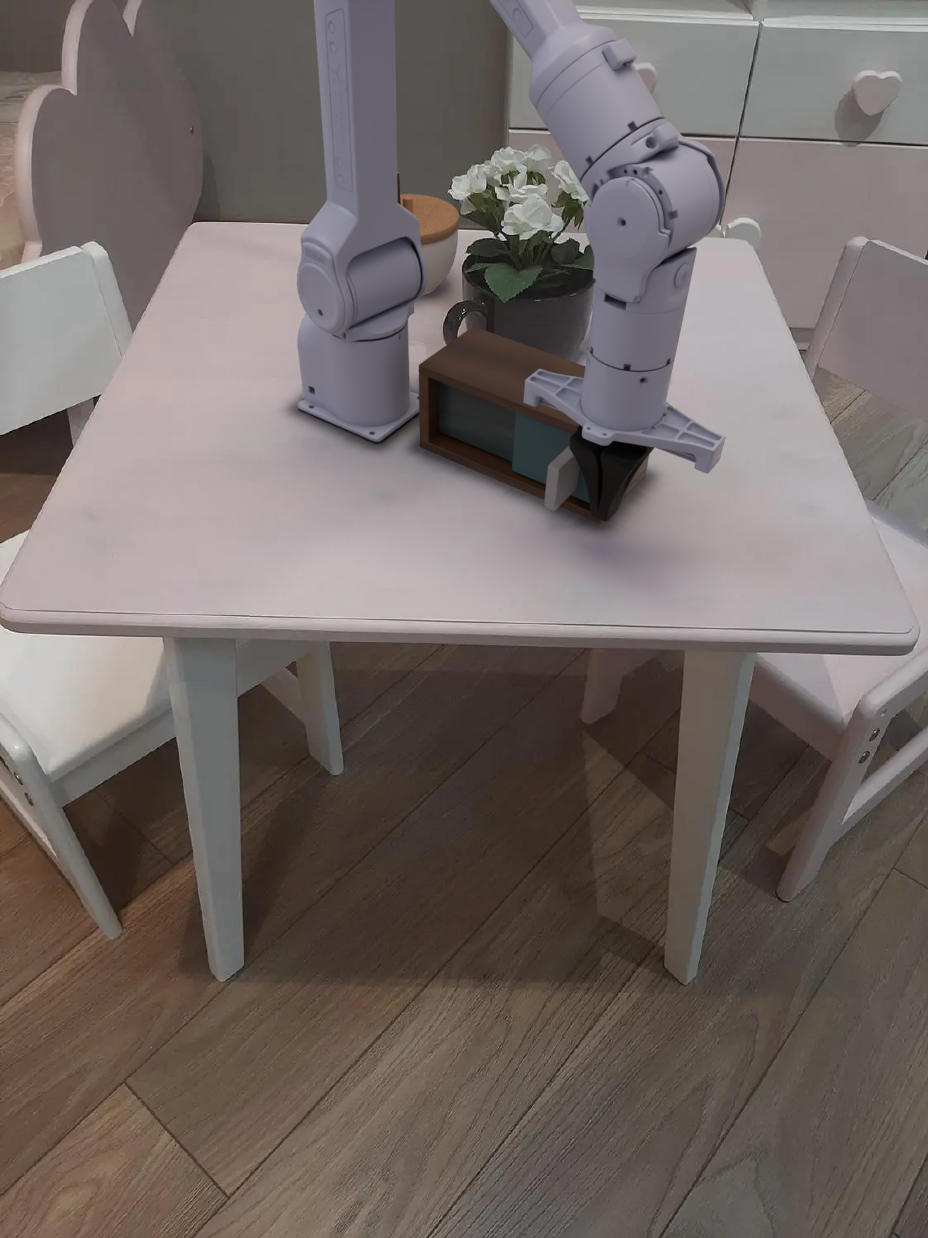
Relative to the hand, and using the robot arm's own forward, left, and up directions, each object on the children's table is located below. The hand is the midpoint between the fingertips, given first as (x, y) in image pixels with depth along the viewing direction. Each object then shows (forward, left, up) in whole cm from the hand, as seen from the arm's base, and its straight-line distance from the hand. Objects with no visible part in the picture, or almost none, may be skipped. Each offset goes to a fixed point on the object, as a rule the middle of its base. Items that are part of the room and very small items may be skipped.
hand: (604, 512), depth 71 cm
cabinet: (-10, +6, -3) cm, 12 cm away
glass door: (-6, +1, -2) cm, 7 cm away
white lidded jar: (-38, +26, -3) cm, 46 cm away
